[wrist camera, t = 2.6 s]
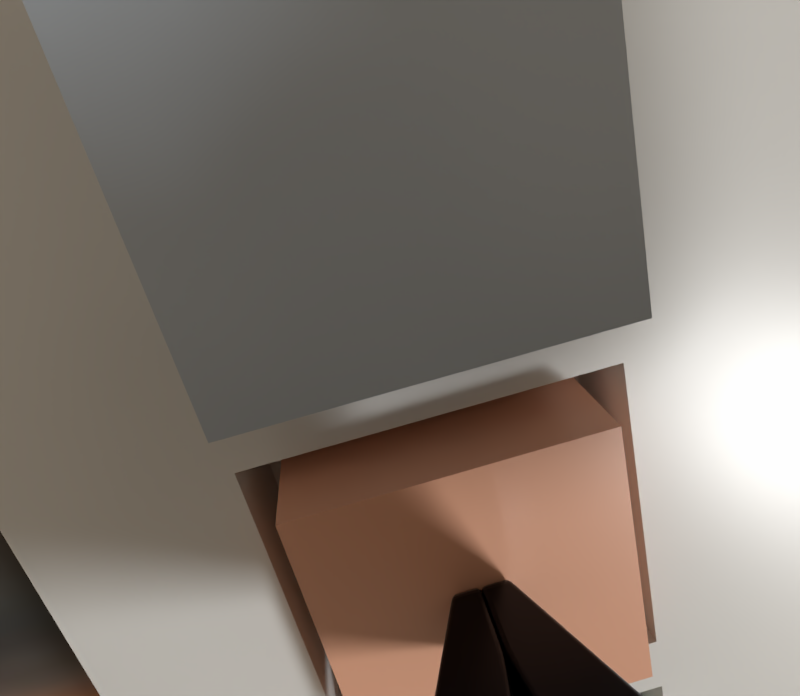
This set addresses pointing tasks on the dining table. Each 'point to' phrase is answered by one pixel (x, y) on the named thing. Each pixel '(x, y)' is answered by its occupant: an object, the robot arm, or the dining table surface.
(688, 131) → the keypad
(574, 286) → the key slate
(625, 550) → the key terracotta
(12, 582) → the dining table surface
